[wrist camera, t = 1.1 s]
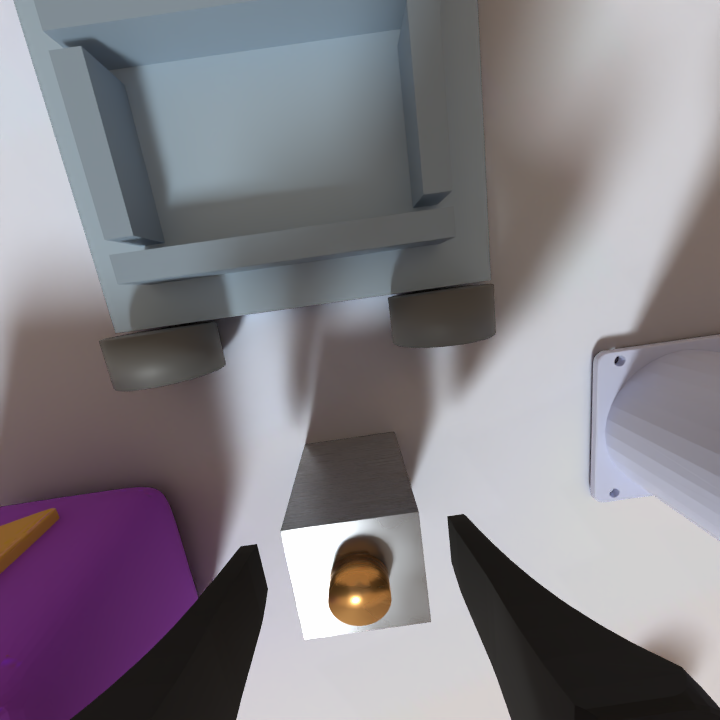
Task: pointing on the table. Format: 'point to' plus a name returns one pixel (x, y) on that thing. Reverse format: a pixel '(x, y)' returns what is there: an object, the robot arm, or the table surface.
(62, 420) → the table surface
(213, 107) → the chassis
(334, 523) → the metal block with knob
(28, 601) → the toy camera
